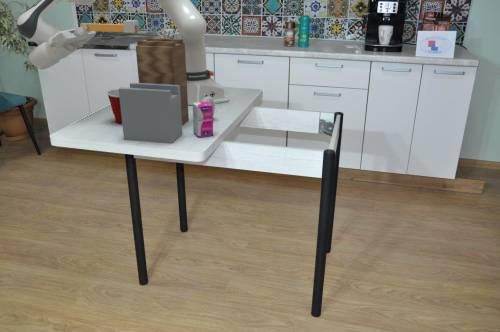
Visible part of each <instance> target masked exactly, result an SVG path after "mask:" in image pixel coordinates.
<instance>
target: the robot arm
mask: <svg viewBox="0 0 500 332" xmlns="http://www.w3.org/2000/svg"><path fill="white" fill-rule="evenodd" d="M96 1H97V0H37V1H35V2H34V4H33V5H32V6H30V8H28V9H27V10H25V11H23V12H22V13H21V14H19V17H18V18H17V20H16V22H15V24H16V29H17V31H18V34H19V35H20V36H23V37H24V38H26V39H29V40H31V41H33V42H34V43H36V44H37V46H36V47H35V48H33V50H32V51H31V52H30V53H29V55H28V59H29V62H30V63H31V64H32V65H33V66H34V67H36V68H37V69H39V70H48V69H50V68H52V67H54V66H55V65H56V64H58V63H59V62H60V61H61V60H62V59H65V58H67V57H68V56H70V55H71V54H73V53H74V52H76V51H77V50H79V49H81V48H83V46H84V44H86V43H87V42H89V40H91V39H92V38H94V36H96V33H97V31H86V30H87V29H89V27H88V25H83V26H81V27H80V26H79V27H76V28H71V29H66V30H61V29H60V28H59V27H57V26H56V25H54V24H52V23H51V22H50V21H48V20H47V19H45V18H44V16H45V15H46V14H47V13H48V12H50V10H51V9H53V8H54V7H55V5H57V4H58V3H62V2H68V3H71V4H75V5H79V6H90V5H92V4H94V3H95V2H96ZM155 2H156V3H157V4H158V5H159V7H160V8H161V9H162V10H163V12H164V13H165V14H166V15H167V17H169V19H170V21H172V23H173V24H174V25H175V27H176V28H177V29H178V39H183V43H185V56H186V75H187V95H188V106H193V103H197V102H201V101H202V99H203V98H204V97H207V96H209V97H211V98H212V99H213V101H214V105H216V104H221V103H226V102H227V103H228V102H230V98H229V96H227V95H226V94H225V91H224V88H223V86H222V85H221V84H220V83H218V82H217V81H216V80H215V79H213V78H212V77H214V76H215V72H214V71H212V70H208V69H207V51H206V50H207V49H206V42H205V33H206V31H207V22H206V20H205V18H204V17H203V15H202V14H201V13H200V11H199V10H198V9H197V8H196V6H195V5H194V3H193V2H192V1H191V0H155Z"/></svg>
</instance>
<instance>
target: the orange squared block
mask: <svg viewBox="0 0 500 332" xmlns="http://www.w3.org/2000/svg"><path fill="white" fill-rule="evenodd" d="M83 25H88V27H89V29H87V30H86V31H95V32H103V33H104V32H105V33H123V34H124V33H125V34H126V33H129V34H135V33H139V32H140V27H139V20H137V19H133V20H132V19H127V20H123V21H122V23H121V24H119V23H96V22H95V23H93V22H92V23H91V22H90V23H88V22H86V23H85V22H82V23H79V27H81V26H83Z"/></svg>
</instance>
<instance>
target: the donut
mask: <svg viewBox="0 0 500 332" xmlns="http://www.w3.org/2000/svg"><path fill="white" fill-rule="evenodd" d="M201 102H209V103H210V104H211V105H213V116H214V115H215V105H216V104H214V101H213V99H212V98H211V97H209V96H207V97H204V98H203V99H202V101H201Z"/></svg>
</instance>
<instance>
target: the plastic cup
mask: <svg viewBox="0 0 500 332" xmlns="http://www.w3.org/2000/svg"><path fill="white" fill-rule="evenodd" d="M106 95H107V97H108V100H109V103H110V106H111V110H112V114H113V117H114V121H115V122H116V124H119V125H122V116H121V107H120V97H119V88H118V89H117V88H116V89H110V90H106Z"/></svg>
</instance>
